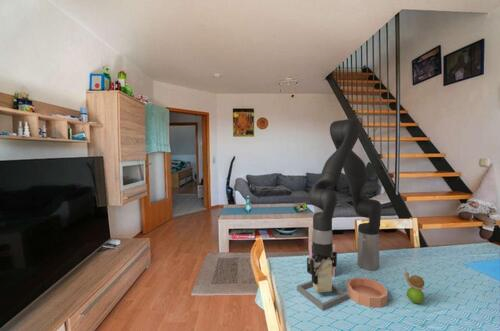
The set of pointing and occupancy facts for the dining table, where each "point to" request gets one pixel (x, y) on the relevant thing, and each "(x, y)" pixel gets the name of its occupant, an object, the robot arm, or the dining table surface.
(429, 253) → the dining table surface
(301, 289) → the open rectangular frame
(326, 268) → the skincare box
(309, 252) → the greeting card
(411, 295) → the snail figurine
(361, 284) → the bowl
